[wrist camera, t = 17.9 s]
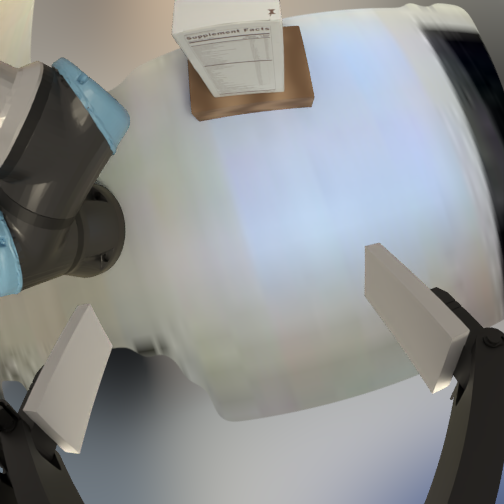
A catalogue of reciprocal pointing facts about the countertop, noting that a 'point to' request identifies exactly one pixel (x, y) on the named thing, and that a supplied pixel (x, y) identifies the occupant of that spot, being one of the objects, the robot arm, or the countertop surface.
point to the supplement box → (232, 44)
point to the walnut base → (294, 94)
